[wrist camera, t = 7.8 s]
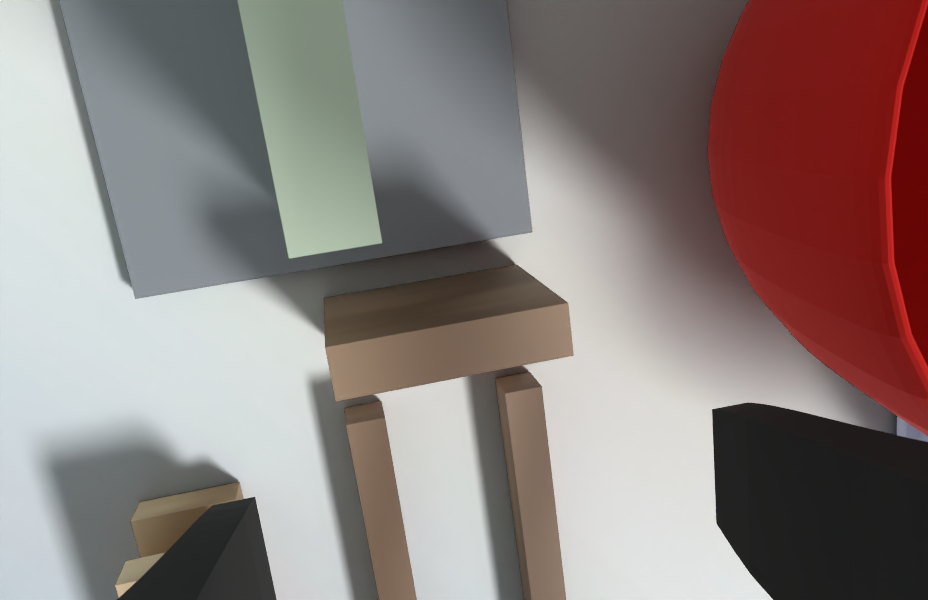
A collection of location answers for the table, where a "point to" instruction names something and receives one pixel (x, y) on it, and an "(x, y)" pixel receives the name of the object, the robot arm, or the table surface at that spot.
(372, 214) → the sage board
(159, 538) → the offcut stack
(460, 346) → the walnut rack
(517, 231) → the slate mat
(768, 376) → the table surface
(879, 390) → the ceramic cup
